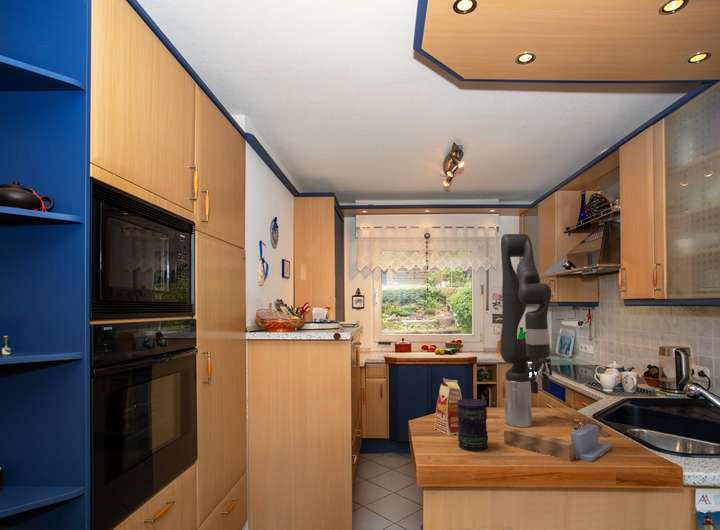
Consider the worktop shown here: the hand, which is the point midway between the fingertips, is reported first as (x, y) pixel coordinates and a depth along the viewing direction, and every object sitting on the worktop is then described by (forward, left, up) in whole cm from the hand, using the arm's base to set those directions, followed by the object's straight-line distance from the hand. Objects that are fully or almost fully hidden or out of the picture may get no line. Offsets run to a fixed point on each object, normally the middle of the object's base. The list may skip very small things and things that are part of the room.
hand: (540, 391), depth 150 cm
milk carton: (-33, -6, -19) cm, 39 cm away
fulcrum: (+11, +7, -19) cm, 23 cm away
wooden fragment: (+1, +34, -19) cm, 39 cm away
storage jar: (-17, -15, -19) cm, 30 cm away
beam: (0, -3, -19) cm, 19 cm away
